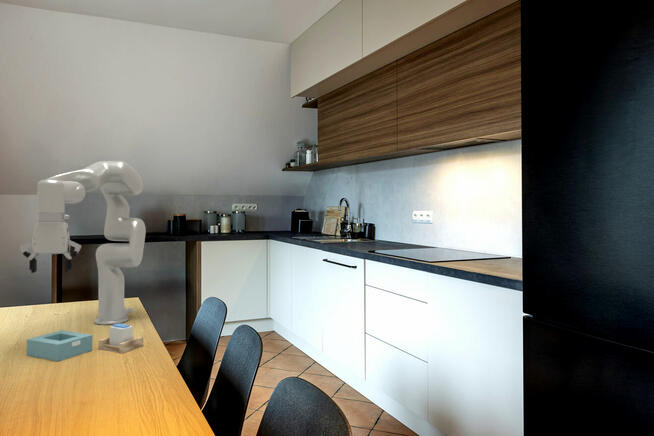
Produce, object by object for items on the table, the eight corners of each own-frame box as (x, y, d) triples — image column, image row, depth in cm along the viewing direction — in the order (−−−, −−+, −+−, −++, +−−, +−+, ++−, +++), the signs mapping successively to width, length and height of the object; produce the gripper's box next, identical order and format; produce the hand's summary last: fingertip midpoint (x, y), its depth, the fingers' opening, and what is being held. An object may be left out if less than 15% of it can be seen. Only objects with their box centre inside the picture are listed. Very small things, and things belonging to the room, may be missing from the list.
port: (62, 345, 156) (62, 330, 156) (92, 350, 150) (92, 335, 150) (26, 355, 145) (26, 339, 145) (58, 361, 139) (58, 344, 139)
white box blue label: (119, 345, 156) (119, 322, 156) (132, 347, 154) (132, 324, 154) (109, 348, 153) (109, 325, 153) (123, 350, 150) (123, 327, 150)
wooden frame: (120, 342, 159) (120, 333, 159) (143, 345, 156) (143, 337, 155) (98, 349, 151) (98, 340, 151) (121, 353, 147) (121, 344, 147)
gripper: (83, 218, 155) (83, 269, 155) (24, 218, 150) (23, 271, 150) (78, 218, 148) (78, 272, 148) (16, 218, 143) (16, 274, 143)
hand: (51, 271), depth 149 cm, fingers open, 9 cm apart
